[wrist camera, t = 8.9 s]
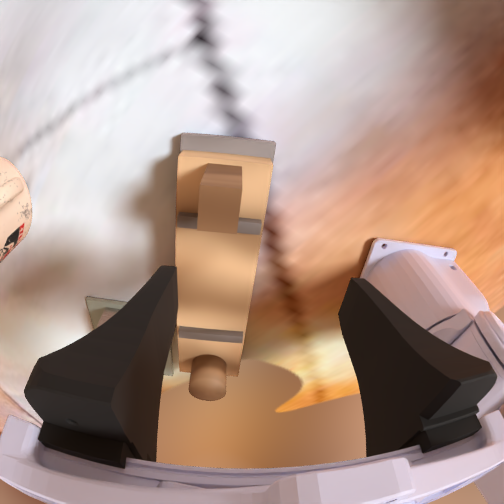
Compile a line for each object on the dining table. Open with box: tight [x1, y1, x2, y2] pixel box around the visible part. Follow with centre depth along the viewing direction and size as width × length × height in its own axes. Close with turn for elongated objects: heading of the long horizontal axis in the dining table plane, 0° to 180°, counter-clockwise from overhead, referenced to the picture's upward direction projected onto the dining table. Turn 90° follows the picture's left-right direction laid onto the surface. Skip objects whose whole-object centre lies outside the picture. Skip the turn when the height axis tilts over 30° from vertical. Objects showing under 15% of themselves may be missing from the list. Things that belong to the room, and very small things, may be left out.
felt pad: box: [86, 297, 173, 376], centre depth 28 cm, size 8×10×1 cm
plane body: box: [175, 133, 276, 401], centre depth 22 cm, size 22×6×6 cm, turn 173°
